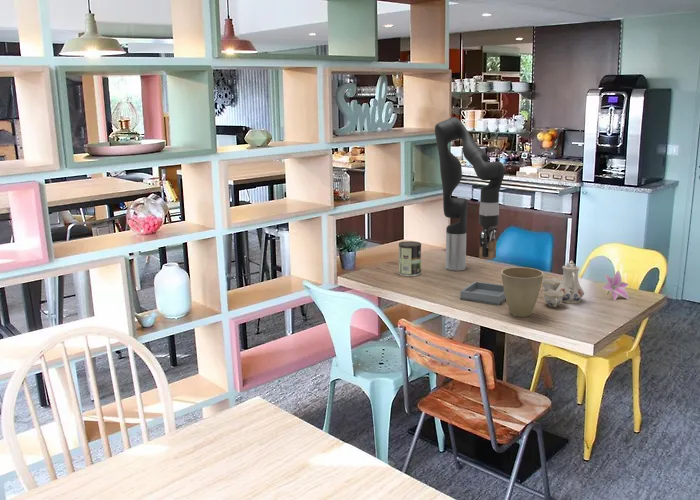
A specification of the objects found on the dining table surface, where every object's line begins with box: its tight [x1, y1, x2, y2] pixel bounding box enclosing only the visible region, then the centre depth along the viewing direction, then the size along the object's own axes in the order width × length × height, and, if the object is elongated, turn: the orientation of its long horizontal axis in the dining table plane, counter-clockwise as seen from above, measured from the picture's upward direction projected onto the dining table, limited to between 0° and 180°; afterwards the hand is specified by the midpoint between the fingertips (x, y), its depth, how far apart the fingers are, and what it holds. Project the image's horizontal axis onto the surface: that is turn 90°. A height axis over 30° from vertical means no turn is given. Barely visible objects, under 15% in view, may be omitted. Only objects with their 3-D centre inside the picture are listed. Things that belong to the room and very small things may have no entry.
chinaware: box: [541, 259, 585, 308], centre depth 259 cm, size 28×17×17 cm, turn 171°
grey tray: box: [459, 280, 506, 306], centre depth 265 cm, size 16×16×4 cm
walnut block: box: [478, 239, 497, 261], centre depth 261 cm, size 5×5×7 cm
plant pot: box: [500, 266, 544, 318], centre depth 243 cm, size 15×15×16 cm
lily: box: [602, 270, 630, 301], centre depth 263 cm, size 12×12×10 cm
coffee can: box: [398, 240, 422, 277], centre depth 301 cm, size 10×10×14 cm
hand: (487, 255), depth 262 cm, fingers closed on walnut block, 5 cm apart
